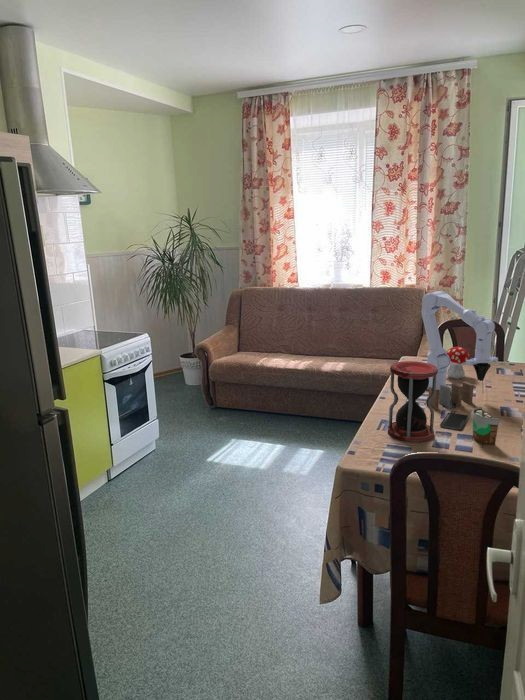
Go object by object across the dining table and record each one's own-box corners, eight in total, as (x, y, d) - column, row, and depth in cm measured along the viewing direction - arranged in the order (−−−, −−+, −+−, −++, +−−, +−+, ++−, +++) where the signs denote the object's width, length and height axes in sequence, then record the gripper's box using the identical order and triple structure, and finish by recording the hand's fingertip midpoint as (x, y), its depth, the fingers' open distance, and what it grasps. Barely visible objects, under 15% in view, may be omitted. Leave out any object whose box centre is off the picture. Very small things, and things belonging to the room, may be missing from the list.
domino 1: (434, 408, 209) (436, 389, 207) (427, 404, 213) (429, 386, 212) (438, 408, 209) (439, 389, 208) (431, 404, 214) (432, 386, 212)
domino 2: (446, 406, 211) (447, 388, 209) (439, 403, 215) (440, 384, 213) (449, 406, 211) (451, 387, 209) (442, 402, 215) (443, 384, 214)
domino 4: (468, 403, 214) (470, 385, 212) (461, 399, 218) (462, 382, 216) (472, 403, 214) (473, 384, 212) (464, 399, 219) (465, 381, 217)
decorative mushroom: (439, 379, 246) (441, 349, 242) (441, 371, 259) (443, 342, 255) (470, 382, 241) (473, 351, 237) (471, 374, 253) (473, 344, 250)
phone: (439, 425, 190) (448, 412, 203) (439, 428, 191) (448, 414, 203) (461, 429, 186) (469, 415, 199) (461, 432, 187) (469, 418, 199)
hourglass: (390, 422, 196) (393, 359, 190) (435, 427, 190) (439, 362, 184) (384, 438, 182) (387, 371, 175) (432, 445, 176) (436, 375, 170)
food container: (462, 433, 185) (464, 407, 182) (479, 432, 185) (481, 406, 183) (479, 447, 173) (482, 420, 170) (497, 446, 173) (499, 419, 171)
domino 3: (457, 405, 212) (459, 386, 210) (450, 401, 217) (451, 383, 215) (461, 404, 213) (462, 386, 211) (453, 401, 217) (454, 383, 215)
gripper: (474, 352, 207) (472, 384, 210) (504, 349, 211) (501, 380, 214) (463, 348, 213) (461, 380, 216) (492, 345, 217) (489, 376, 221)
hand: (480, 380), depth 216 cm, fingers closed
